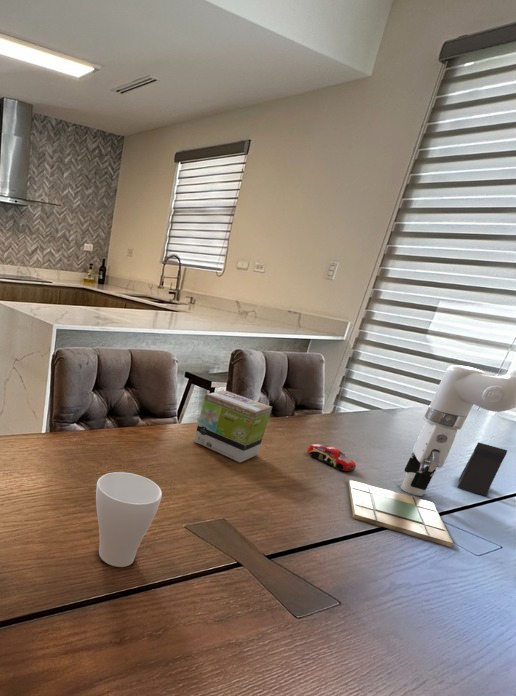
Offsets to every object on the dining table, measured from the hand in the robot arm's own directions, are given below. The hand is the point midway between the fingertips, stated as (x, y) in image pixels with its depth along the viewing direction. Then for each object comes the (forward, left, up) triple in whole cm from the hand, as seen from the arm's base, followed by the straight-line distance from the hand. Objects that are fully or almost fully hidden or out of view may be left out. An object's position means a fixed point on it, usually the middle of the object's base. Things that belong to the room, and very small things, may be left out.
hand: (414, 480), depth 119 cm
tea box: (+46, +7, -3) cm, 46 cm away
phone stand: (-17, -15, -3) cm, 23 cm away
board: (+6, +17, -3) cm, 18 cm away
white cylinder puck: (0, 0, -3) cm, 3 cm away
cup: (+54, +71, -3) cm, 89 cm away
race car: (+19, -5, -3) cm, 19 cm away
